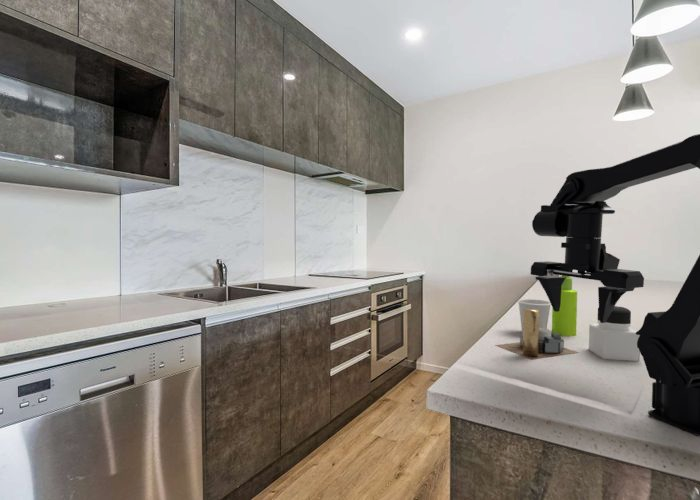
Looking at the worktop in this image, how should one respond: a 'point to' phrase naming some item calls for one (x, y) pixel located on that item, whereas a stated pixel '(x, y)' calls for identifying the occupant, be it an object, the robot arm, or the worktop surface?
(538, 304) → the dixie cup
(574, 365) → the worktop surface
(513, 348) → the mount board
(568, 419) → the worktop surface
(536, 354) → the desk sculpture ornament
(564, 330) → the soap dispenser
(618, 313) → the medicine bottle
